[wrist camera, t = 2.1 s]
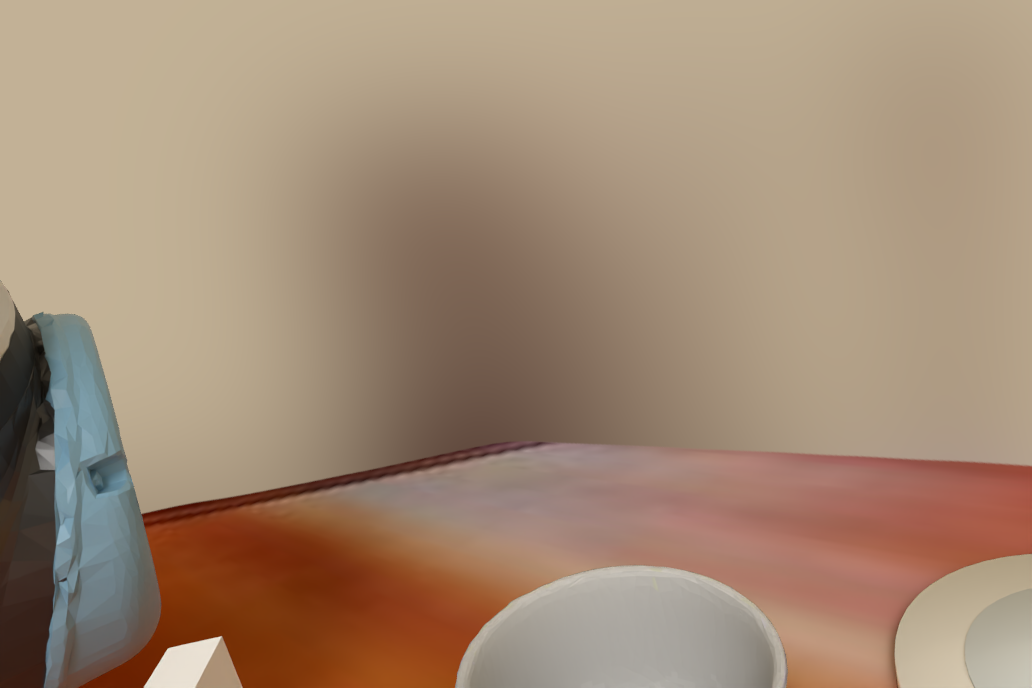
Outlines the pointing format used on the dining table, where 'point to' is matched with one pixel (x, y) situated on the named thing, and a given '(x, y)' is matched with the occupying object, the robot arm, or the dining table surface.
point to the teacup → (627, 635)
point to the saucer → (970, 629)
